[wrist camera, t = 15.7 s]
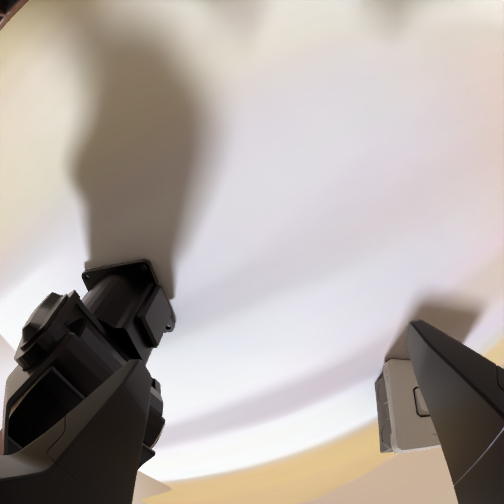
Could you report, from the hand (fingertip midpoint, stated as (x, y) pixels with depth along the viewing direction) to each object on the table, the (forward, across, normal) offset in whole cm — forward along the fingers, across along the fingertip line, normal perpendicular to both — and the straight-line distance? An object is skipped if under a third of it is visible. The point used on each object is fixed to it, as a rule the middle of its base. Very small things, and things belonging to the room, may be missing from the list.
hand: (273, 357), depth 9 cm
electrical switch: (+12, -12, +19) cm, 26 cm away
